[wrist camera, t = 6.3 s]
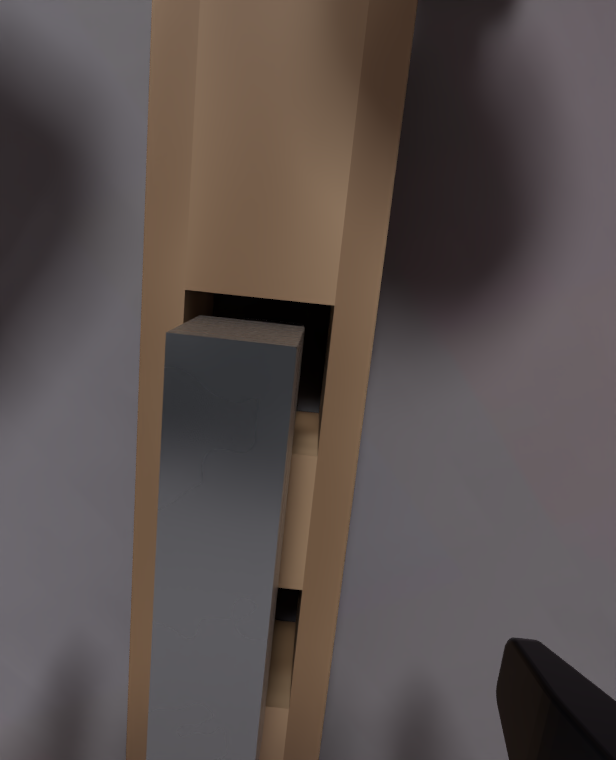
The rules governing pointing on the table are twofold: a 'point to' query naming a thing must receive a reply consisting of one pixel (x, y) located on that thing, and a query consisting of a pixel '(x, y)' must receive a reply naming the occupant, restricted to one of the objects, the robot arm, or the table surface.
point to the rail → (271, 274)
